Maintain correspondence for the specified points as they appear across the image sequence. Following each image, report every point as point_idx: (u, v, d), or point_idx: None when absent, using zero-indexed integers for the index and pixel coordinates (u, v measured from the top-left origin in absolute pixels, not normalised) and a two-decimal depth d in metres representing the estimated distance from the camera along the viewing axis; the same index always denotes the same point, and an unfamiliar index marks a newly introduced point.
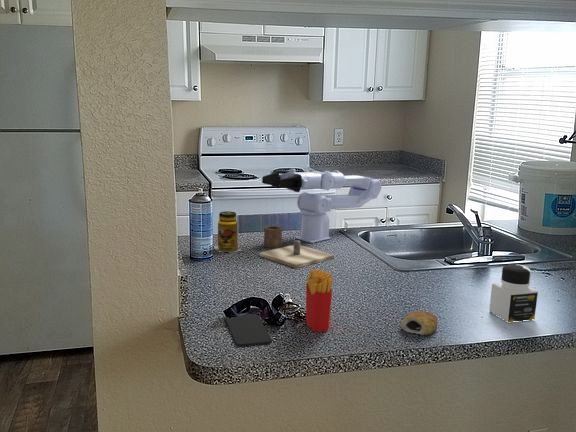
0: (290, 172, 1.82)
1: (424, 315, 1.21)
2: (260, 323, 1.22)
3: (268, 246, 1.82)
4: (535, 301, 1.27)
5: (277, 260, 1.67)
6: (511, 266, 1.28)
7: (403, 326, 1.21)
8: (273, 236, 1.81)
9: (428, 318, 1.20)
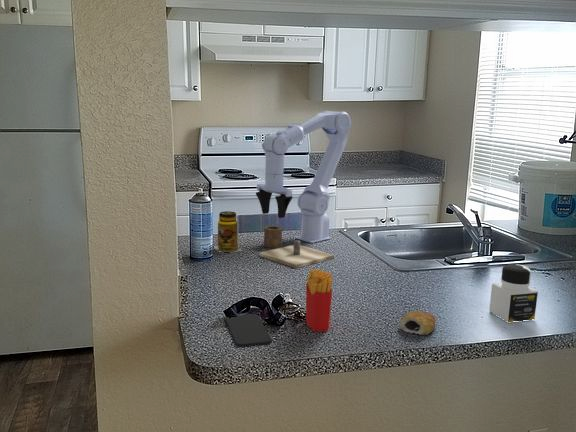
0: None
1: (422, 315, 1.21)
2: (260, 323, 1.22)
3: (268, 246, 1.82)
4: (535, 301, 1.27)
5: (277, 260, 1.67)
6: (511, 266, 1.28)
7: (401, 326, 1.21)
8: (273, 236, 1.81)
9: (426, 318, 1.20)
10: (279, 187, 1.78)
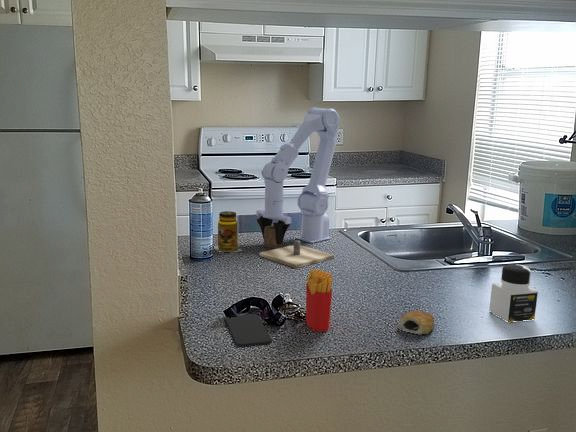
0: None
1: (421, 315, 1.21)
2: (260, 323, 1.22)
3: (268, 246, 1.82)
4: (535, 301, 1.27)
5: (277, 260, 1.67)
6: (511, 266, 1.28)
7: (400, 326, 1.21)
8: (273, 236, 1.81)
9: (425, 318, 1.20)
10: (278, 214, 1.80)
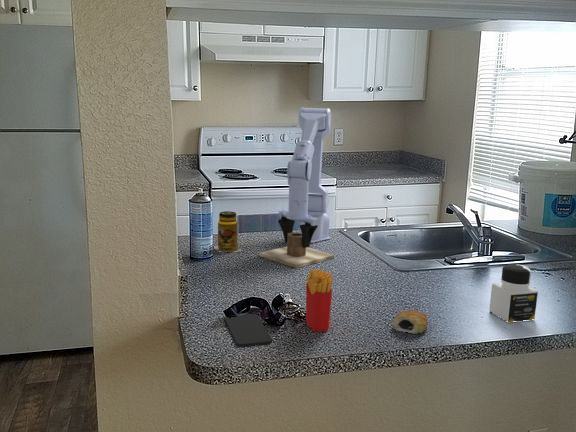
0: None
1: (415, 314, 1.21)
2: (260, 323, 1.22)
3: (291, 254, 1.70)
4: (535, 301, 1.27)
5: (277, 260, 1.67)
6: (511, 266, 1.28)
7: (394, 325, 1.21)
8: (297, 244, 1.69)
9: (419, 317, 1.21)
10: (303, 215, 1.68)
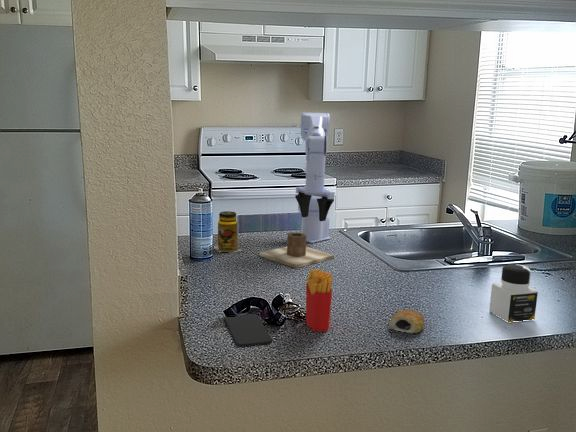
0: None
1: (412, 313, 1.22)
2: (260, 323, 1.22)
3: (291, 254, 1.70)
4: (535, 301, 1.27)
5: (277, 260, 1.67)
6: (511, 266, 1.28)
7: (392, 325, 1.21)
8: (297, 244, 1.69)
9: (416, 316, 1.21)
10: (320, 189, 1.73)
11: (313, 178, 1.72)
